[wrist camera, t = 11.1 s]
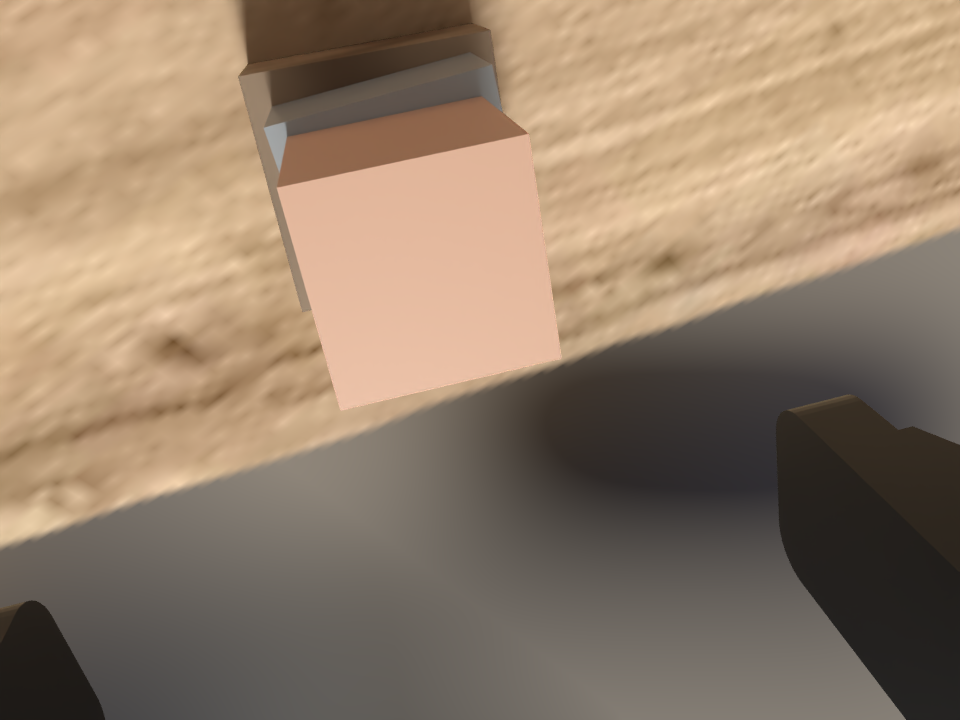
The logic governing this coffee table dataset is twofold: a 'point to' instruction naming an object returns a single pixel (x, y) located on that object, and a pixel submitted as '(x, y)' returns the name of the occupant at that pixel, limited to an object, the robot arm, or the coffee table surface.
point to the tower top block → (383, 98)
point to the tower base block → (337, 70)
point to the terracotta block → (420, 249)
